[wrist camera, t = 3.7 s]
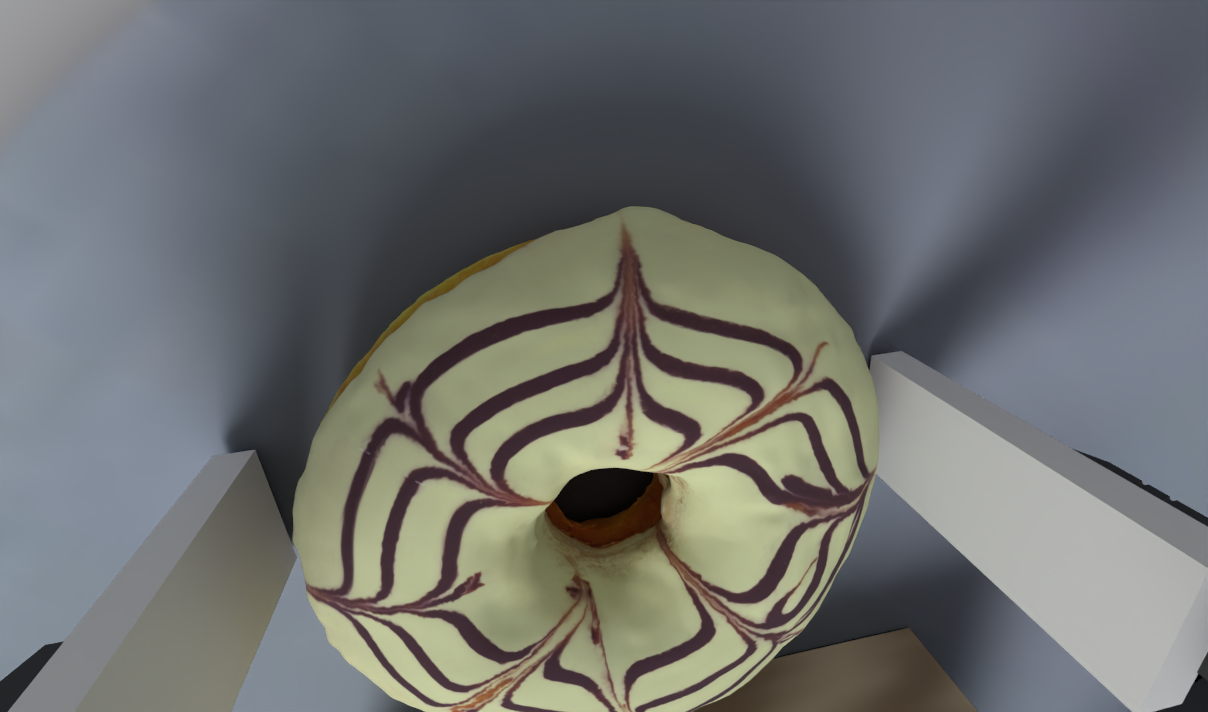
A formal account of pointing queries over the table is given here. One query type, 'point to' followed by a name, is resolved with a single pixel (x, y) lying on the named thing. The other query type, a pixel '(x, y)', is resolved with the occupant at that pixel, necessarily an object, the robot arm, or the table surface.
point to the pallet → (851, 680)
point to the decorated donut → (576, 445)
